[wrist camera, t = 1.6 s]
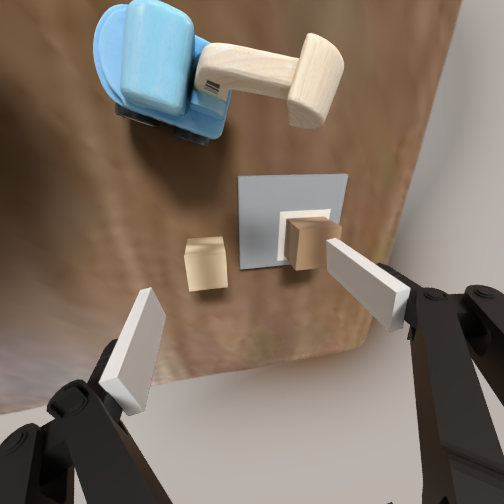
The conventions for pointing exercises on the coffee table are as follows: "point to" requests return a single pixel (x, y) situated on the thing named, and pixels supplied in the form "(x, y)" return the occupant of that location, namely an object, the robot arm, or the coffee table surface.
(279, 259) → the pad
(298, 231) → the walnut block
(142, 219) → the coffee table surface
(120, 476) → the robot arm
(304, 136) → the coffee table surface
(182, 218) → the coffee table surface
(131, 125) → the coffee table surface
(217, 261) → the maple block
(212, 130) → the toy excavator
